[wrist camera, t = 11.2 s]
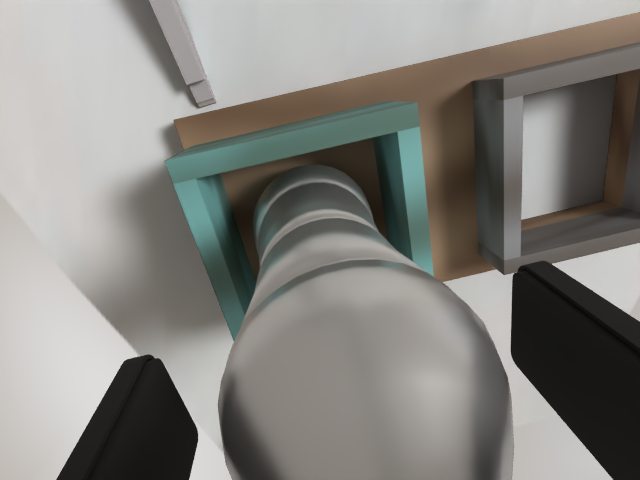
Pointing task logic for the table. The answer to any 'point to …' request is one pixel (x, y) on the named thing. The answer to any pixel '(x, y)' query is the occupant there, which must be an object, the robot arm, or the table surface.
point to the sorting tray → (419, 159)
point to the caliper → (183, 49)
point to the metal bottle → (356, 354)
